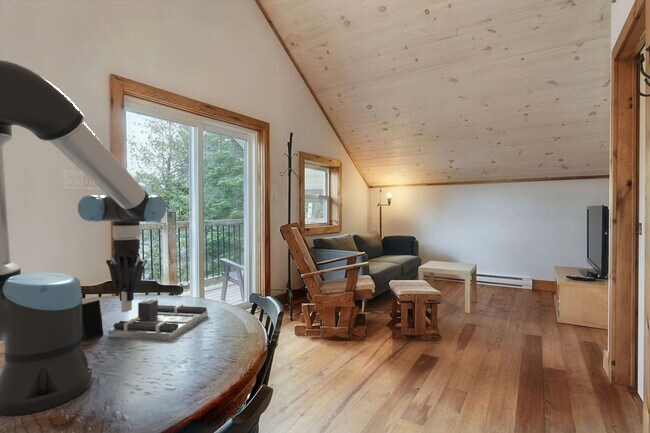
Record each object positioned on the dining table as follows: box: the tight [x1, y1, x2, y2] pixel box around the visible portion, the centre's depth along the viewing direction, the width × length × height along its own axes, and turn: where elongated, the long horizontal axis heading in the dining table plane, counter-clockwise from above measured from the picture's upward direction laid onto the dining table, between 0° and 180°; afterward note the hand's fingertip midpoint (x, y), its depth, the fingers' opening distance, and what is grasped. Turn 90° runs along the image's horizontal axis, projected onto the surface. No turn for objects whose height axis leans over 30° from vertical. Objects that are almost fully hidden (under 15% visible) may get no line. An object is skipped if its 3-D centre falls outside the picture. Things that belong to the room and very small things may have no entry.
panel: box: [107, 309, 209, 342], centre depth 104 cm, size 22×19×2 cm
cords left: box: [113, 318, 178, 332], centre depth 96 cm, size 4×19×2 cm, turn 82°
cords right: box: [158, 303, 208, 313], centre depth 113 cm, size 4×19×2 cm, turn 83°
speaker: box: [81, 299, 104, 342], centre depth 96 cm, size 8×6×10 cm
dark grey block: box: [137, 298, 159, 319], centre depth 106 cm, size 4×4×5 cm
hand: (126, 310), depth 107 cm, fingers closed
